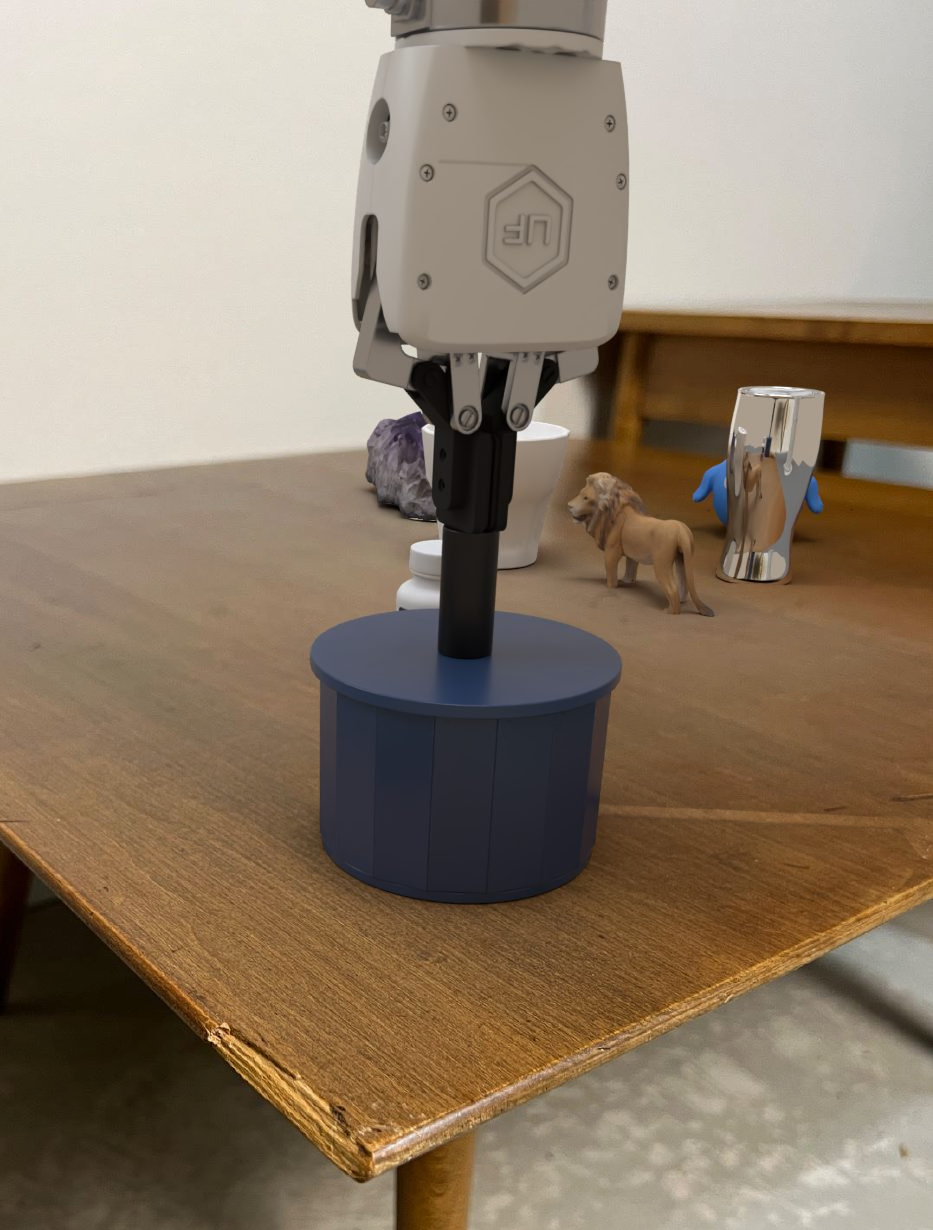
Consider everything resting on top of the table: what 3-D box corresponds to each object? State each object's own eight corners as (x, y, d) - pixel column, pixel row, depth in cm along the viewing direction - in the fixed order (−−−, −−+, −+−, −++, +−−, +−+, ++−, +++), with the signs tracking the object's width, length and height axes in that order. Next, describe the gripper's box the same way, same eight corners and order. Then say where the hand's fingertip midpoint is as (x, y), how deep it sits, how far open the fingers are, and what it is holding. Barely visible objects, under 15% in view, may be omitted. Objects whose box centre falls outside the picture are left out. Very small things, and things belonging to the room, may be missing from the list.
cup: (448, 536, 114) (454, 414, 110) (577, 551, 110) (588, 424, 105) (394, 564, 104) (398, 432, 100) (533, 582, 99) (544, 443, 95)
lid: (601, 636, 60) (615, 498, 57) (640, 741, 47) (660, 571, 44) (325, 626, 60) (325, 490, 58) (292, 726, 48) (291, 559, 45)
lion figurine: (551, 583, 99) (561, 471, 96) (599, 575, 102) (610, 465, 98) (688, 628, 88) (705, 503, 84) (738, 617, 91) (756, 496, 87)
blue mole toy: (672, 544, 113) (684, 451, 109) (697, 520, 122) (708, 434, 119) (808, 559, 108) (824, 462, 105) (822, 532, 118) (838, 443, 114)
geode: (505, 522, 121) (498, 419, 116) (390, 539, 120) (379, 436, 116) (464, 476, 139) (457, 386, 134) (364, 491, 138) (354, 401, 134)
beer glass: (783, 592, 97) (815, 398, 91) (698, 579, 101) (724, 391, 95) (806, 575, 103) (837, 390, 97) (724, 563, 106) (750, 383, 100)
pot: (578, 787, 62) (593, 627, 59) (606, 911, 51) (628, 721, 47) (333, 776, 63) (335, 618, 60) (307, 896, 52) (307, 709, 48)
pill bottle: (493, 722, 71) (504, 557, 67) (403, 727, 70) (408, 559, 66) (470, 690, 75) (479, 534, 71) (385, 694, 75) (389, 537, 71)
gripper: (358, -24, 37) (348, 562, 45) (733, 19, 43) (669, 530, 51) (267, 11, 44) (271, 522, 51) (606, 45, 50) (566, 498, 57)
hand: (470, 525), depth 51 cm, fingers closed
